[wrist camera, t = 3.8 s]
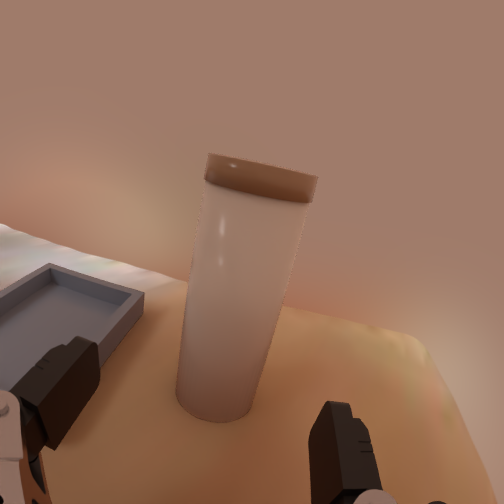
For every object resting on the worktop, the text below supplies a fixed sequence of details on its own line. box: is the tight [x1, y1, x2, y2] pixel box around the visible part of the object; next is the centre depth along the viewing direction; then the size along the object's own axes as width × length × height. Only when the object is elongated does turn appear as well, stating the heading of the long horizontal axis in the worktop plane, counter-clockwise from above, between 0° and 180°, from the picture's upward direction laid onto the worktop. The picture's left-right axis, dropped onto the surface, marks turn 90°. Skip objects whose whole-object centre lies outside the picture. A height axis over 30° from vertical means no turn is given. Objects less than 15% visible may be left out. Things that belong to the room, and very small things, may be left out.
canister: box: [176, 153, 318, 422], centre depth 16 cm, size 5×5×14 cm
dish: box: [0, 263, 145, 391], centre depth 18 cm, size 11×16×2 cm
